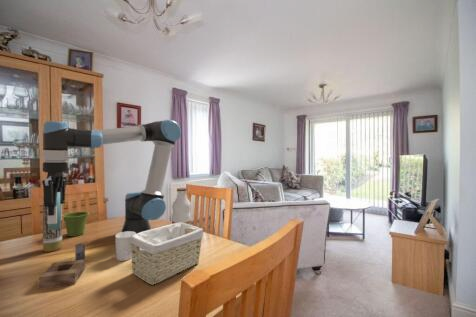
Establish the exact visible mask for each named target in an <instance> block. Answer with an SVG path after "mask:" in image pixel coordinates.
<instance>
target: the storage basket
mask: <svg viewBox="0 0 476 317" xmlns="http://www.w3.org/2000/svg"><path fill="white" fill-rule="evenodd" d="M185 230H186V231H187V232H188V231H189V232H191V233H188V234H186V235H185ZM203 233H204V228H202V227H198V226H195V225H192V224H191V225H189V224H186V223H182V222H180V223H174V224H172V223H171V224H167V225H163V226H158V227H155V228H151V230H147V231H143V232H140V233H137V234H134V235H131V236H130V245H131V253H132V254H131V255H132V258H131V270H132V274H133V275H135V276H137V277H138V278H139V279H141V280H142V281H143V280H144V282H146V283H147V284H149V285H150V284H151V286H154V284H155V285H157V284H159V283H161V282H163V281H165V280H167V279H168V278H171V277H173V276H175V275H177V273H178V274H179V272H180V273H182V272H184V271H186V270H187V268H188V269H189V268H192V267H194V266H195V264H196V265H197V263H198V264H199V263H200V255H201V247H202V241H203V240H202V239H203V236H204V234H203ZM193 265H194V266H193ZM185 269H186V270H185ZM183 270H184V271H183ZM181 271H182V272H181ZM156 283H157V284H156Z"/></svg>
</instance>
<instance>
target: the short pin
mask: <svg viewBox="0 0 476 317" xmlns="http://www.w3.org/2000/svg"><path fill="white" fill-rule="evenodd" d="M83 259H85V260H86V243H84V242H80V243H77V244H75V259H74V261H75V260H83Z"/></svg>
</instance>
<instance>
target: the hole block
mask: <svg viewBox="0 0 476 317" xmlns="http://www.w3.org/2000/svg"><path fill="white" fill-rule="evenodd" d="M85 270H86V258H85V259H83V260H75V259H74V260H67V261H60V262H59V261H58V262H53V263H52V264H50V265H49V267H47V269H46V270H45V271H44V272H42V274H40V275H39V276H38V290H43V289H44V288H45V289H51V288H50V287H52V288H57V286H59V287H66V286H72V285H71V284H73V285H76V283H77V282H78V280H80V279H79V278H81V276H82V275H83V273H84V272H85ZM65 285H66V286H65ZM45 289H44V290H45Z"/></svg>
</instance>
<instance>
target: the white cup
mask: <svg viewBox="0 0 476 317" xmlns="http://www.w3.org/2000/svg"><path fill="white" fill-rule="evenodd" d="M134 234H136V233H135V232H133V231H126V232H121V231H120V232H118V233H117V234H115V236H114V238H115V252H116V257H115V258H116V260H117V261H120V262H124V261H129V260H132V255H131V254H132V253H131V245H130V236H131V235H134Z"/></svg>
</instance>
